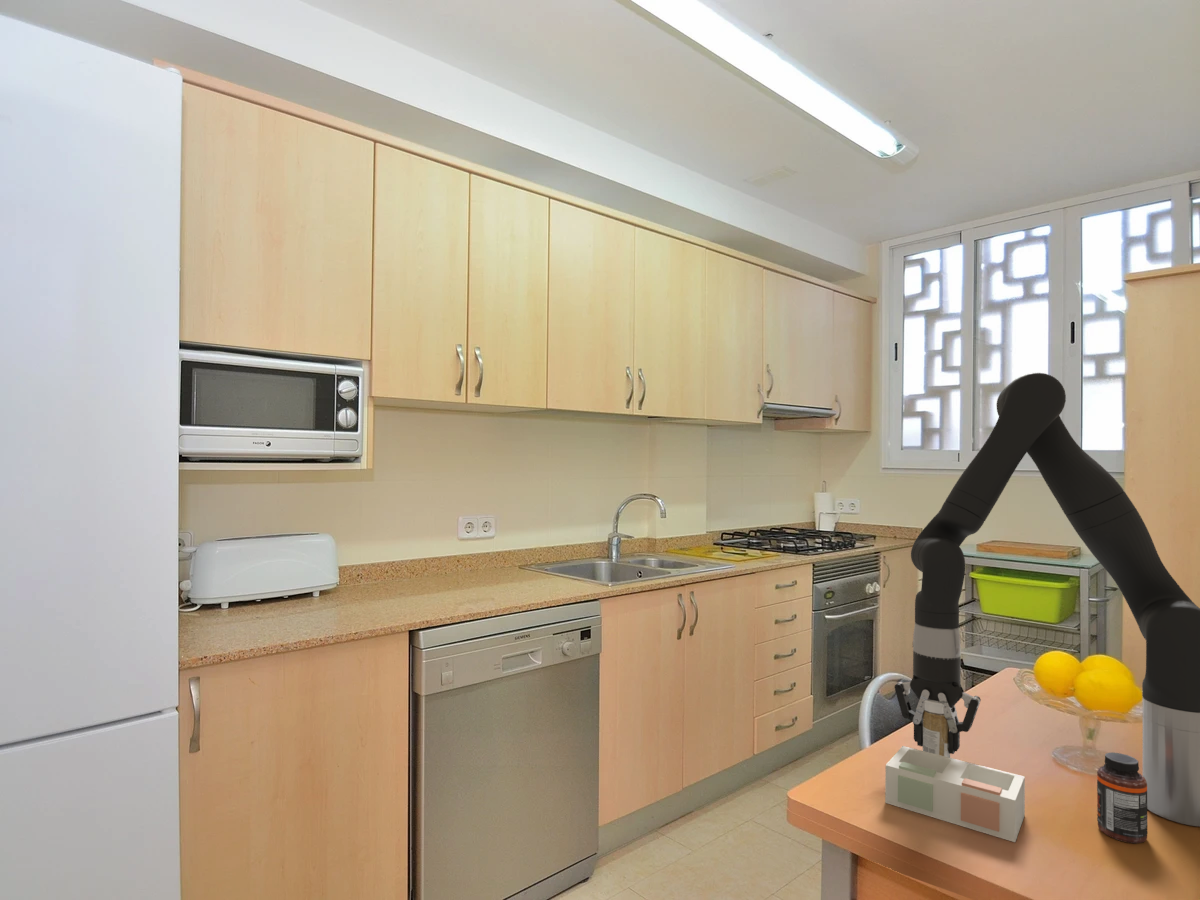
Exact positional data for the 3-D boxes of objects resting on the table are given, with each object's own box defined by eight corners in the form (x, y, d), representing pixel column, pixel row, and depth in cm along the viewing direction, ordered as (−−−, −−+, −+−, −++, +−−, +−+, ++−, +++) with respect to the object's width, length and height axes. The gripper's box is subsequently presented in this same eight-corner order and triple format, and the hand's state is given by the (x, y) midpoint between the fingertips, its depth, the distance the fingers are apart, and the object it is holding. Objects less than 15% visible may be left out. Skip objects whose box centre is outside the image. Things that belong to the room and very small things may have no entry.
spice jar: (956, 781, 118) (956, 702, 119) (932, 782, 118) (932, 703, 118) (939, 769, 123) (940, 693, 123) (916, 770, 122) (916, 694, 123)
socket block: (1024, 815, 107) (1024, 773, 107) (1014, 843, 99) (1014, 798, 99) (902, 781, 118) (902, 743, 118) (884, 803, 110) (884, 763, 110)
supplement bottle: (1098, 819, 106) (1098, 745, 106) (1147, 833, 102) (1147, 756, 102) (1095, 835, 101) (1095, 758, 102) (1147, 850, 98) (1147, 769, 98)
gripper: (986, 653, 119) (986, 752, 119) (899, 639, 128) (899, 731, 128) (978, 662, 113) (977, 767, 113) (887, 647, 122) (887, 744, 122)
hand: (936, 748), depth 120 cm, fingers open, 4 cm apart
